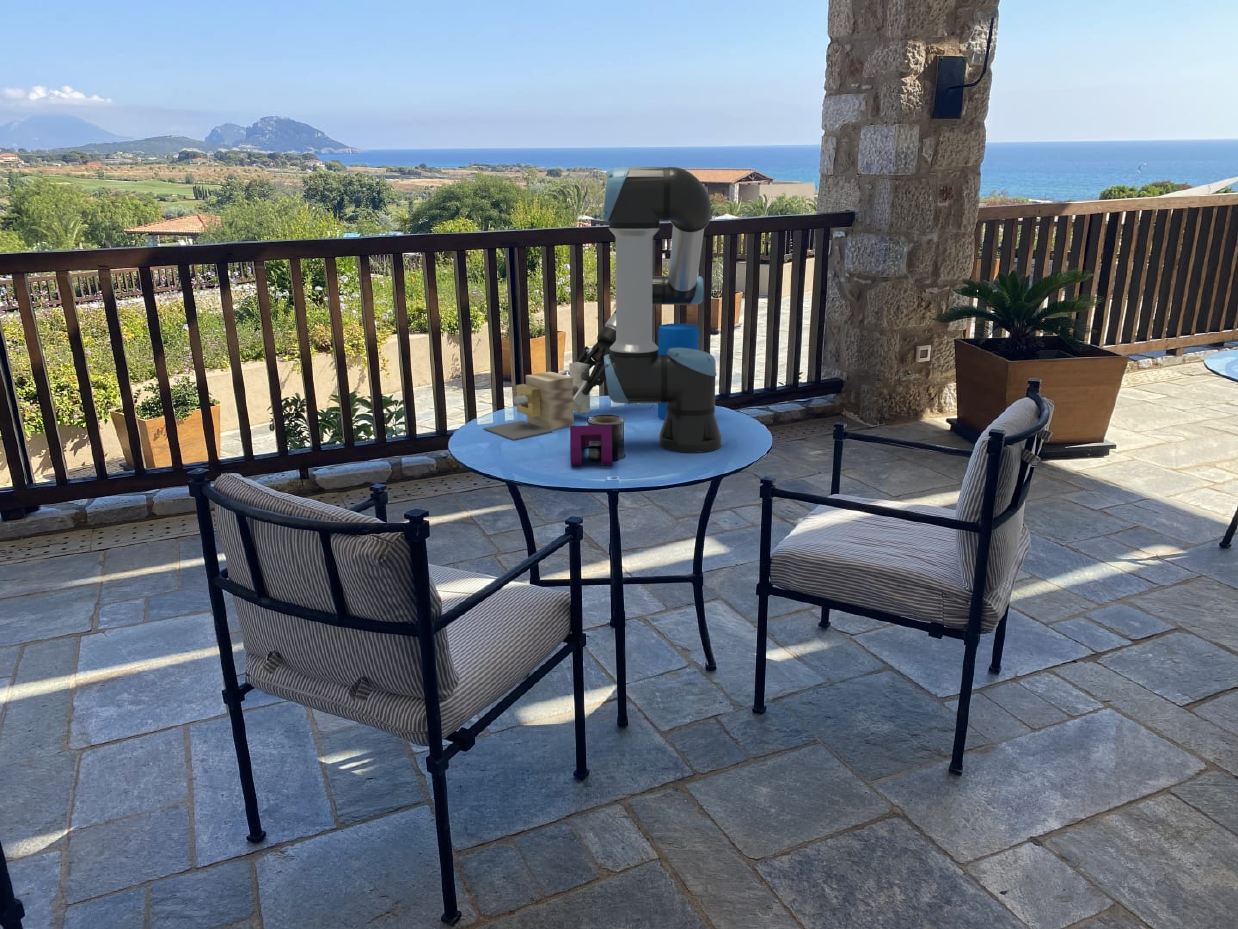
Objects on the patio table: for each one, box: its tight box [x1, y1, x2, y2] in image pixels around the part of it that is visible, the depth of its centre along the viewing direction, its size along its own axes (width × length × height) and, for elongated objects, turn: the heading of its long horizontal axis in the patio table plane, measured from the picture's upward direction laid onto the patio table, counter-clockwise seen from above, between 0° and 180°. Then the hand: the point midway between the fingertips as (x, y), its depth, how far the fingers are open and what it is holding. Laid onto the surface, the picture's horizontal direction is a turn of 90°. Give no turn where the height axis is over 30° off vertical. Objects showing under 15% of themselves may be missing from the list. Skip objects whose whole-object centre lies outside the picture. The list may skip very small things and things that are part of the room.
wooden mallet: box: [512, 361, 591, 414], centre depth 233 cm, size 22×5×13 cm, turn 130°
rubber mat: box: [483, 419, 553, 442], centre depth 229 cm, size 12×14×1 cm
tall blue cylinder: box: [657, 323, 700, 421], centre depth 238 cm, size 11×11×25 cm
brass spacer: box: [515, 383, 540, 417], centre depth 228 cm, size 2×7×7 cm, turn 40°
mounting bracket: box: [569, 424, 613, 466], centre depth 206 cm, size 10×8×18 cm
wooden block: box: [525, 371, 575, 431], centre depth 233 cm, size 8×10×13 cm
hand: (569, 401), depth 237 cm, fingers closed on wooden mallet, 5 cm apart
